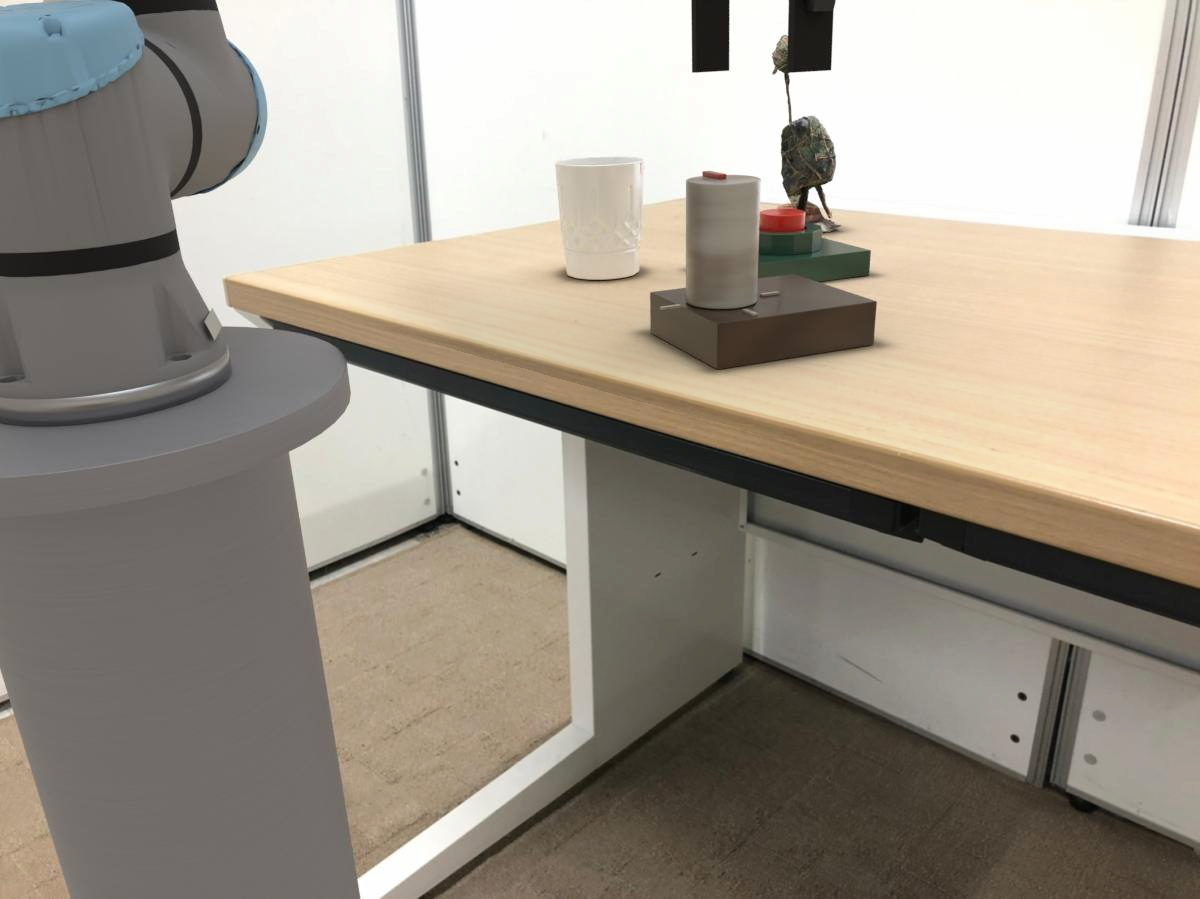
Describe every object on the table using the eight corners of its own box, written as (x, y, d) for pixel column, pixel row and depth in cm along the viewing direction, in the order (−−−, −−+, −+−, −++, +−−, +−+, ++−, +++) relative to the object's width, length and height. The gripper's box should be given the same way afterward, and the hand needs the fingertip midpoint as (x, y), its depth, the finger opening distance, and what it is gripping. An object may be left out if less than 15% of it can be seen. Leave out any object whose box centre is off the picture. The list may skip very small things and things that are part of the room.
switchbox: (750, 290, 82) (751, 242, 81) (694, 269, 91) (695, 225, 90) (869, 275, 87) (872, 229, 85) (805, 256, 95) (807, 214, 94)
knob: (770, 303, 65) (775, 175, 62) (706, 312, 64) (708, 180, 61) (734, 289, 70) (737, 168, 66) (673, 297, 68) (673, 173, 65)
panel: (696, 373, 62) (696, 324, 61) (631, 335, 71) (630, 292, 69) (873, 344, 67) (877, 298, 65) (792, 312, 75) (794, 271, 74)
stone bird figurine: (778, 240, 104) (786, 33, 96) (753, 223, 114) (758, 35, 106) (854, 236, 104) (867, 31, 97) (821, 219, 115) (831, 33, 107)
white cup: (628, 261, 95) (626, 154, 92) (657, 276, 88) (656, 161, 85) (550, 268, 93) (544, 159, 90) (573, 285, 86) (568, 167, 83)
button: (774, 237, 85) (774, 216, 84) (750, 230, 88) (750, 210, 88) (813, 233, 86) (814, 212, 86) (788, 226, 90) (789, 207, 89)
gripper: (948, -383, 50) (917, 68, 58) (720, -244, 71) (720, 69, 79) (819, -398, 47) (805, 74, 55) (625, -249, 69) (634, 74, 77)
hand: (755, 72), depth 67 cm, fingers open, 13 cm apart
